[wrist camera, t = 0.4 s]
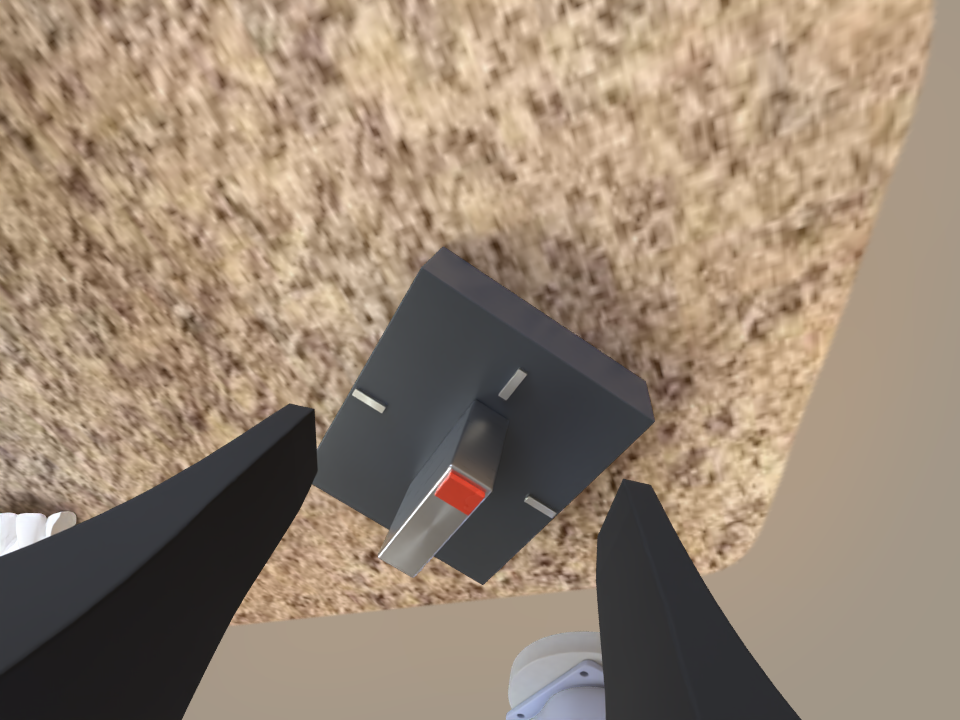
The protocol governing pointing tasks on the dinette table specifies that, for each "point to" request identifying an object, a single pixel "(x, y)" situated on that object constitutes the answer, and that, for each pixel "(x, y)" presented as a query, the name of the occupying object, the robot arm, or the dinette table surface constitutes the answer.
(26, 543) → the tissue
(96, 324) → the dinette table surface
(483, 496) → the tap handle
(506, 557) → the block
